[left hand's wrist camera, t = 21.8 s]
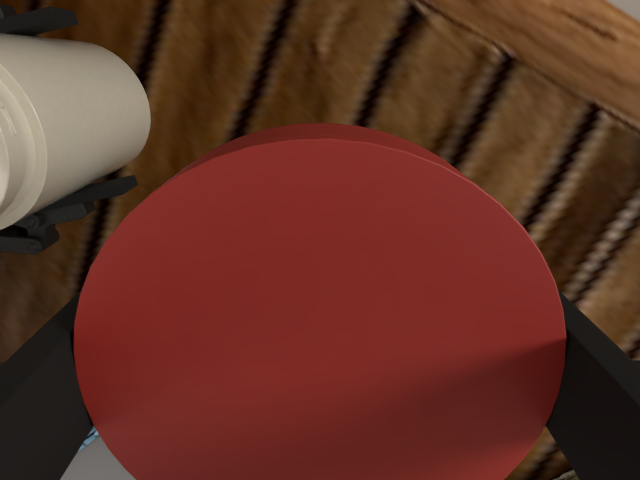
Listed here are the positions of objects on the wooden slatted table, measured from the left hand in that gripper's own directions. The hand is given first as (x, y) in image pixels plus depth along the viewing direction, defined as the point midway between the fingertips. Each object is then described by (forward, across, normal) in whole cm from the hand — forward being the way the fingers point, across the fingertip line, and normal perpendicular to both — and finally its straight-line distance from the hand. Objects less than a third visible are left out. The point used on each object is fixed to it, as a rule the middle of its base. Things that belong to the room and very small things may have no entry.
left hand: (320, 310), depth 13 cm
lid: (-3, 0, 0) cm, 3 cm away
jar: (+26, +19, -4) cm, 32 cm away
